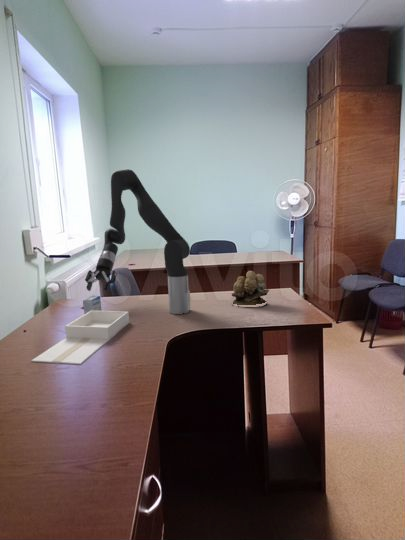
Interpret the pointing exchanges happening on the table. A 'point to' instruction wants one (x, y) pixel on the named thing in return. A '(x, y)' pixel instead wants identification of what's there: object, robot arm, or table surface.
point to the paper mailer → (85, 337)
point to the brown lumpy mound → (249, 289)
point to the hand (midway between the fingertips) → (96, 290)
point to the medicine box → (92, 304)
